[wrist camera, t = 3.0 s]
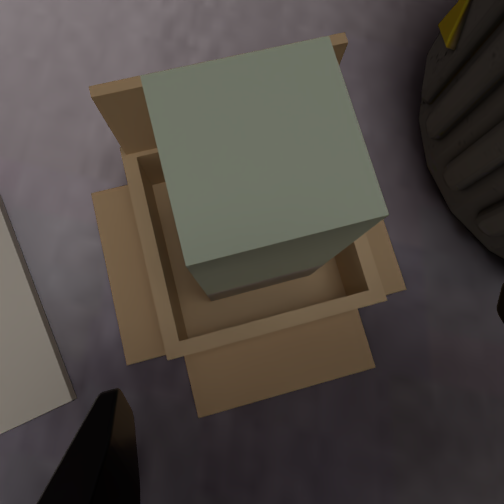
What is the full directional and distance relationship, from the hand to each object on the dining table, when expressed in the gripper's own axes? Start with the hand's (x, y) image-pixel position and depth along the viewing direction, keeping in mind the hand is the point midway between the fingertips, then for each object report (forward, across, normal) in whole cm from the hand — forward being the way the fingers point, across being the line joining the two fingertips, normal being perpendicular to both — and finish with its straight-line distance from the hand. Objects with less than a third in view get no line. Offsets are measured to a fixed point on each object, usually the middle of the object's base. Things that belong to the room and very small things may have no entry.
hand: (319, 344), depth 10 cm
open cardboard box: (+11, 0, +6) cm, 12 cm away
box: (+11, 0, +4) cm, 12 cm away
